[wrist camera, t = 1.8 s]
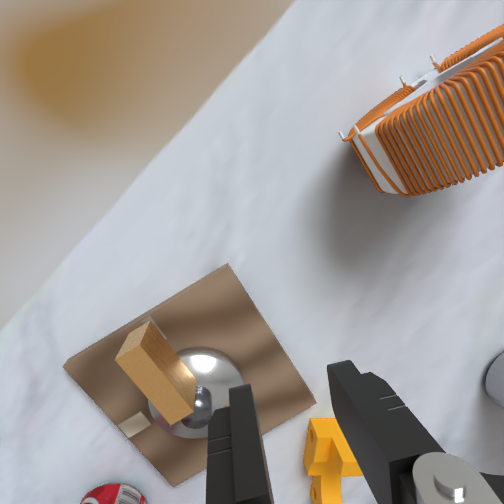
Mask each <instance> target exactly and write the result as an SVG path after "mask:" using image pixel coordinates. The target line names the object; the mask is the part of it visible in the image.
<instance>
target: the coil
mask: <svg viewBox="0 0 504 504" xmlns="http://www.w3.org/2000/svg"><path fill="white" fill-rule="evenodd" d="M430 58H431V61H432V63H433V65H434V67H436V68H434V69H433V70H431V71H430V72H428V73H427V74H425V75H424V76H422V77H421V78H419V79H418V80H416V81H415V82H413V83H412V84H410V85H409V86H407V85H406V83H405V81H404V79H403V77H402V76H401V77H400V79H401V81H402V83H403V85H404V87H403V88H400V89H399V90H398V91H396V92H394V94H392V95H391V96H389V97H388V98H387V99H385V100H384V101H383V102H381V103H380V104H378V105H377V106H376V107H374V109H372V110H371V111H370V112H368V113H367V114H366V115H365V116H364V117H363V118H361V119H360V120H359V121H358V122H357V123H356V124H355V125H354V126H353V128H352V129H351V130H350V132H349V135H348V137H347V138H344V136H343V134H342V133H341V131H339V132H338V134H339V136H340V137H341V139H342V141H348V140H349V142H350V144H351V145H352V147H353V149H354V151H355V152H356V154H357V156H358V157H359V159H360V161H361V163H362V164H363V166H364V168H365V170H366V171H367V173H368V175H369V176H370V178H371V180H372V182H373V183H374V185H375V187H376V189H377V190H378V191H379V192H381V193H386V192H388V193H392V194H400V195H401V196H404V197H410V196H415V195H420V194H425V193H430V192H432V191H437V190H438V189H440V190H442V189H444V187H447V188H448V187H450V186H451V184H452V185H457V183H458V181H459V182H461V183H463V182H464V181H465V177H466V178H467V179H468V180H471V179H472V174H474V176H475V177H478V176H479V173H478V172H479V171H481V172H482V173H483V174H485V173H487V170H486V169H487V168H488V169H490V170H494V169H495V165H496V166H498V167H501V166H502V165H503V162H504V24H503V25H501V26H499V27H497V28H496V29H493V30H492V31H491V32H488V33H487V34H485V35H483V36H481V37H480V38H478V39H476V40H475V41H473V42H471V43H470V44H469V45H466V46H465V47H464V48H461V49H460V50H459V51H456V52H455V53H454V54H451V55H450V56H449V58H448V57H447V58H445V60H444V61H443V63H442V64H441V65H438V64H437V63H436V61H435V59H434V57H433V55H431V56H430ZM407 193H408V194H407Z"/></svg>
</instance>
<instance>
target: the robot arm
mask: <svg viewBox="0 0 504 504" xmlns="http://www.w3.org/2000/svg"><path fill="white" fill-rule="evenodd" d="M327 373H328V380H329V387H330V395H331V402H332V407H333V411H334V414H335V417H336V420H337V423H338V425H339V427H340V429H341V431H342V433H343V435H344V437H345V439H346V441H347V443H348V445H349V447H350V449H351V451H352V453H353V455H354V457H355V459H356V461H357V463H358V465H359V467H360V469H361V471H362V473H363V475H364V477H365V479H366V481H367V483H368V485H369V487H370V489H371V491H372V493H373V495H374V497H375V499H376V501H377V503H378V504H504V476H500V475H490V474H485V473H481V472H478V471H477V470H476V469H475V468H474V467H473V466H471V465H470V464H469V463H467V462H466V461H464V460H462V459H461V458H458V457H456V456H454V455H451V454H447V453H446V452H445V451H444V450H443V449H442V448H441V447H440V445H439V444H438V443H437V442H436V441H435V439H434V438H433V437H432V436H431V435H430V434H429V432H428V431H427V430H426V429H425V428H424V426H423V425H422V424H421V423H420V422H419V420H418V419H417V418H416V417H415V416H414V414H413V413H412V412H411V411H410V410H409V408H408V407H406V406H405V404H404V402H403V401H402V400H401V399H400V398H399V396H397V395H396V393H395V392H394V390H393V389H392V388H391V387H390V386H389V384H388V383H387V382H386V381H385V380H383V379H381V378H380V377H378V376H376V375H375V374H373V373H371V372H369V373H364V374H360V372H359V371H358V369H357V368H356V367H355V365H354V364H353V363H352V361H350V360H346V361H342V362H338V363H333V364H329V365H327ZM486 391H487V393H488V395H489V397H490V398H491V399H492V400H493V401H494V402H495V403H497V404H498V405H499V406H500V407H502V408H503V409H504V352H503V353H502V354H501V355H500V356H499V357H498V358H497V359H496V360H495V361H494V362H493V364H492V365H491V367H490V369H489V371H488V373H487V377H486ZM229 405H230V406H228V407H224V408H220V409H216V410H215V411H214V413H213V415H212V417H211V419H210V421H209V423H208V443H207V456H208V457H207V477H206V504H274V500H273V494H272V489H271V483H270V478H269V472H268V467H267V461H266V456H265V450H264V445H263V439H262V434H261V429H260V424H259V419H258V415H257V410H256V406H255V401H254V396H253V392H252V387H251V383H249V384H245V385H241V386H236V387H232V388H229Z"/></svg>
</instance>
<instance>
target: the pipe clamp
mask: <svg viewBox="0 0 504 504" xmlns="http://www.w3.org/2000/svg"><path fill="white" fill-rule="evenodd" d="M303 462H304V465H305V468H306V471H307V474H308V476H313V479H312V485H311V491H310V495H311V498H312V501H313V504H342V497H341V477H348V476H363V473H362V471H361V469H360V467H359V465H358V463H357V461H356V459H355V457H354V455H353V453H352V451H351V449H350V447H349V445H348V443H347V441H346V439H345V437H344V435H343V433H342V431H341V429H340V427H339V425H338V423H337V420H336V418H310V422H309V428H308V434H307V440H306V446H305V452H304V458H303Z"/></svg>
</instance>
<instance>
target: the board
mask: <svg viewBox="0 0 504 504" xmlns="http://www.w3.org/2000/svg"><path fill="white" fill-rule="evenodd" d="M150 320H151V322H152V323H153V324H154V326H155V327H156V328H157V329H158V331H159V332H160V333H161V335H162V336H163V337H164V338H165V340H166V341H167V342H168V344H169V345H170V346H171V348H172V349H173V350H174V351H175V352H177V351H180V350H183V349H186V348H190V347H209V348H214V349H217V350H219V351H221V352H223V353H225V354H227V355H228V356H230V357H231V358H232V359H233V360H234V361H235V362H236V364H237V365H238V367H239V368H240V370H241V373H242V376H243V381H244V385H245V384H249V383H251V387H252V392H253V396H254V401H255V406H256V410H257V415H258V419H259V424H260V429H261V434H262V435H263V434H265V433H267V432H268V431H270V430H272V429H273V428H275V427H277V426H278V425H280V424H282V423H284V422H285V421H287V420H289V419H290V418H292V417H294V416H295V415H297V414H299V413H301V412H302V411H304V410H306V409H307V408H309V407H311V406H313V405H314V404H316V401H315V398H314V396H313V394H312V393H311V391H310V390H309V388H308V387H307V385H306V383H305V382H304V380H303V379H302V377H301V376H300V374H299V373H298V371H297V370H296V368H295V366H294V365H293V363H292V362H291V360H290V359H289V357H288V356H287V354H286V352H285V351H284V349H283V348H282V346H281V345H280V343H279V342H278V340H277V339H276V337H275V335H274V334H273V332H272V331H271V329H270V328H269V326H268V325H267V323H266V322H265V320H264V318H263V317H262V315H261V314H260V312H259V311H258V309H257V308H256V306H255V304H254V303H253V301H252V300H251V298H250V297H249V295H248V294H247V292H246V291H245V289H244V287H243V286H242V284H241V283H240V281H239V280H238V278H237V277H236V275H235V274H234V272H233V270H232V269H231V267H230V266H229V264H228V263H227V264H225V265H223V266H222V267H220V268H218V269H217V270H215V271H213V272H212V273H210V274H208V275H207V276H205V277H203V278H202V279H200V280H198V281H197V282H195V283H193V284H192V285H190V286H188V287H187V288H185V289H184V290H182V291H180V292H179V293H177V294H175V295H174V296H172V297H170V298H169V299H167V300H165V301H164V302H162V303H160V304H159V305H157V306H155V307H154V308H152V309H150V310H149V311H147V312H145V313H144V314H142V315H141V316H139V317H137V318H136V319H134V320H132V321H131V322H129V323H127V324H126V325H124V326H122V327H121V328H119V329H117V330H116V331H114V332H112V333H111V334H109V335H107V336H106V337H104V338H102V339H101V340H99V341H98V342H96V343H94V344H93V345H91V346H89V347H88V348H86V349H84V350H83V351H81V352H79V353H78V354H76V355H74V356H73V357H71V358H69V359H68V360H67V362H66V363H65V364H64V365H63V368H64V369H65V370H66V371H67V372H68V373H69V374H70V376H71V377H72V378H73V379H74V380H75V381H76V382H77V383H78V384H79V385H80V386H81V387H82V389H83V390H84V391H85V392H86V393H87V394H88V395H89V396H90V397H91V398H92V399H93V400H94V402H95V403H96V404H97V405H98V406H99V407H100V408H101V409H102V410H103V411H104V412H105V414H106V415H107V416H108V417H109V418H110V419H111V420H112V421H113V422H114V423H115V424H116V425H117V427H118V428H119V429H120V430H121V431H122V432H123V433H124V434H125V435H126V436H127V437H128V438H129V440H130V441H131V442H132V443H133V444H134V445H135V446H136V447H137V448H138V449H139V450H140V451H141V453H142V454H143V455H144V456H145V457H146V458H147V459H148V460H149V461H150V462H151V463H152V465H153V466H154V467H155V468H156V469H157V470H158V471H159V472H160V473H161V474H162V475H163V476H164V478H165V479H166V480H167V481H168V482H169V483H170V484H171V485H172V486H173V487H175V486H176V485H178V484H180V483H181V482H183V481H185V480H187V479H188V478H190V477H192V476H193V475H195V474H197V473H198V472H200V471H202V470H204V469H205V468H207V457H208V456H207V443H208V437H205V438H196V439H192V438H183V437H179V436H176V435H173V434H171V433H169V432H167V431H166V430H164V429H163V428H162V427H160V426H159V425H158V424H157V422H156V421H155V420H154V418H153V416H152V415H151V412H150V409H149V405H148V398H147V397H146V396H145V395H144V393H143V392H142V391H141V390H140V389H139V388H138V386H137V385H136V384H135V383H134V382H133V381H132V379H131V378H130V377H129V376H128V375H127V374H126V372H125V371H124V370H123V369H122V368H121V366H120V365H119V364H118V363H117V362H116V361H115V358H116V356H117V355H118V353H119V351H120V349H121V347H122V345H123V344H124V342H125V340H126V338H127V336H128V334H129V333H130V332H132V331H134V330H135V329H137V328H139V327H140V326H142V325H144V324H145V323H147V322H149V321H150Z"/></svg>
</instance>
